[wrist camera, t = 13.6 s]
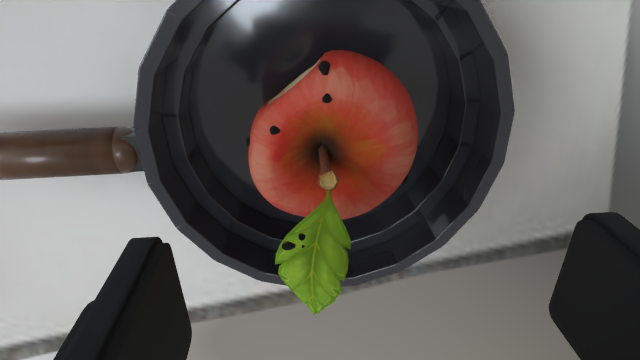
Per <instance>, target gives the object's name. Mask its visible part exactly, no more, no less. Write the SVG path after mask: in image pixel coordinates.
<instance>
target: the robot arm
mask: <svg viewBox="0 0 640 360" xmlns="http://www.w3.org/2000/svg"><path fill="white" fill-rule="evenodd" d="M549 312H550V315H551V318H552V320H553V321H554V323H555V324H556V326H557V327H558V328H559V330H560V331H561V332H562V334H563V335H564V337H565V338H566V340H567V341H568V342H569V344H570V345H571V347H572V348H573V349H574V351H575V352H576V353H577V355H578V356H579V358H580V359H581V360H640V230H639V229H638V228H636V227H635V226H634V225H633V224H632V223H630V222H629V221H628V220H627V219H625V218H624V217H623V216H621V215H620V214H618V213H614V212H607V213H590V214H587V215H585V216H584V217H583V219H582V220H581V221H579V222H578V223H577V224H576V226H575V229H574V232H573V235H572V238H571V241H570V244H569V247H568V250H567V253H566V256H565V259H564V262H563V265H562V268H561V271H560V274H559V277H558V280H557V283H556V285H555V289H554V291H553V294H552V297H551V301H550V304H549ZM191 330H192V329H191V324H190V320H189V316H188V312H187V308H186V304H185V300H184V296H183V293H182V289H181V285H180V281H179V277H178V273H177V269H176V265H175V261H174V257H173V254H172V250H171V246H170V244H169V243H162V240H161V239H160V238H159V237H147V238H133V239H131V240H130V241H129V242H128V244H127V246H126V247H125V249H124V251H123V252H122V254H121V256H120V258H119V259H118V261H117V263H116V264H115V266H114V268H113V270H112V271H111V273H110V275H109V276H108V278H107V280H106V282H105V283H104V285H103V287H102V288H101V290H100V292H99V294H98V295H97V297H96V299H95V301H92V302H90V303H89V304H87V306H86V307H85V308H84V310H83V311H82V313H81V314H80V316H79V318H78V319H77V321H76V323H75V324H74V326H73V328H72V329H71V331H70V333H69V334H68V336H67V338H66V339H65V341H64V343H63V344H62V346H61V348H60V349H59V351H58V353H57V354H56V357H55V358H54V360H186V359H187V355H188V351H189V347H190V343H191V337H192V331H191Z"/></svg>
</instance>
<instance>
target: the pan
mask: <svg viewBox="0 0 640 360" xmlns="http://www.w3.org/2000/svg"><path fill="white" fill-rule="evenodd" d="M332 50H346V51H352V52H355V53H359V54H362V55H365V56H367V57H370V58H372V59H374V60H376V61H378V62H379V63H381V64H382V65H384V66H385V67H386V68H388V69H389V70H390V71H391V72H392V73H393V74H394V75H395V76H396V77H397V78H398V79H399V80H400V82H401V83H402V84H403V86H404V87H405V89H406V90H407V92H408V94H409V96H410V98H411V100H412V103H413V106H414V109H415V113H416V118H417V126H418V142H417V150H416V154H415V158H414V161H413V163H412V166H411V168H410V170H409V172H408V174H407V176H408V179H407V182H406V184H400V186H399V187H398V188H397V189H396V190H395V191H394V192H393V193H392V194H391V195H390V196H389V197H388V198H387V199H386V200H384V201H383V202H382V203H381V204H379V205H378V206H376V207H375V208H373V209H371V210H370V211H368V212H366V213H364V214H361V215H359V216H356V217H352V218H348V219H343V220H342V221H343V223H344V225H345V227H346V229H347V232H348V235H349V237H350V240H351V249H348V248H345V247H344V249H345V250H346V251H347V253H348V260H349V262H348V271H347V274H346V276H345V279H344V281H342V280H341V279H340V278H339V281H340V285H341V287H346V286H355V285H360V284H363V283H366V282H369V281H372V280H376V279H379V278H382V277H385V276H388V275H391V274H394V273H398V272H401V271H403V270H404V269H406V268H408V267H409V266H411V265H413V264H414V263H416V262H418V261H419V260H421V259H422V258H424V257H426V256H427V255H429V254H431V253H432V252H434V251H436V250H437V249H439V248H440V247H442V246H443V245H445V244H446V243H447V242H448V241H449V240H450V239H451V237H452V236H453V235H454V234H455V233H456V232H457V231H458V230H459V229H460V228H461V227H462V226H463V225H464V224H465V223H466V222H467V221H468V220H469V219H470V218H471V217H472V216H473V215H474V214H475V213H476V212H477V211H478V209H479V208H480V206H481V204H482V203H483V201H484V199H485V197H486V195H487V193H488V192H489V190H490V188H491V186H492V184H493V182H494V181H495V179H496V177H497V175H498V173H499V171H500V170H501V168H502V166H503V163H504V160H505V155H506V151H507V146H508V141H509V136H510V131H511V126H512V121H513V116H514V112H515V111H514V101H513V93H512V85H511V77H510V69H509V62H508V54H507V51H506V49H505V47H504V45H503V43H502V41H501V39H500V37H499V35H498V34H497V32H496V30H495V28H494V26H493V24H492V22H491V20H490V18H489V16H488V14H487V12H486V10H485V9H484V7H483V5H482V3H481V1H480V0H176V1H175V2H174V3H173V4H172V5H171V6H170V7H169V9H168V10H167V11H166V13H165V15H164V17H163V19H162V21H161V23H160V25H159V27H158V29H157V31H156V33H155V35H154V38H153V40H152V42H151V44H150V46H149V48H148V50H147V52H146V54H145V56H144V58H143V60H142V62H141V64H140V67H139V68H140V69H139V72H138V83H137V94H136V105H135V115H134V126H133V127H134V133H135V137H136V141H137V145H138V149H139V153H140V157H141V160H142V164H143V168H144V172H145V176H146V180H147V183H148V185H149V187H150V188H151V190H152V191H153V193H154V195H155V196H156V198H157V199H158V201H159V202H160V204H161V205H162V207H163V208H164V210H165V212H166V213H167V215H168V216H169V218H170V219H171V221H172V222H173V224H174V225H175V227H177V229H178V230H179V231H180V232H181V233H183V234H184V235H185V236H186V237H187V238H189V239H190V240H191V241H192V242H193V243H194V244H196V245H197V246H198V247H199V248H200V249H202V250H203V251H204V252H205V253H206V254H208V255H209V256H210V257H211V258H212V259H214V260H216V261H217V262H219V263H221V264H224V265H226V266H228V267H230V268H232V269H235V270H237V271H239V272H241V273H243V274H246V275H248V276H250V277H252V278H254V279H257V280H260V281H263V282H269V283H275V284H280V285H286V284H285V283H284V281H283V280H282V279H281V277H280V276H279V274H278V271H279V266H280V265H281V264H282V263H281V264H275V258H276V253H277V250H278V248H279V245H280V244H281V242H282V241H283V239H284V238H285V237H286V235H287V234H288V233H289V232H290V231H291V230H292V229H293V228H294V227H295V226H296V225H297V224H298V223H300V222H301V221H302V220H303V219H304V218H305V217H302V216H298V215H293V214H291V213H288V212H285V211H283V210H280V209H278V208H277V207H275V206H273V205H272V204H271V203H270V202H268V201H267V200H266V199H265V198H264V197H263V196H262V195H261V193H260V192H259V190H258V189H257V187H256V186H255V183H254V181H253V179H252V176H251V173H250V168H249V147H248V146H247V145H246V138H247V137H248V136H249V135H250V133H251V128H252V124H253V121H254V118H255V116H256V114H257V112H258V110H259V109H260V108H261V107H262V106H263V105H264V104H265V103H266V102H267V101H269V100H271V99H272V98H274V97H275V96H276V95H277V94H279V93H280V92H281V91H282V90H283V89H284V88H285V87H287V86H288V85H289V84H290V83H292V82H293V81H294V80H295V79H296V78H297V77H299V76H300V75H301V74H302V73H304V72H305V71H306V70H308V69H309V68H310V67H312V66H314V65H315V64H316V63H317V62H318V60H319V59H320V58H321V57H322V56H323V55H324V54H325V53H326V52H329V51H332ZM286 286H287V285H286Z"/></svg>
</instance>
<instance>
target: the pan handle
mask: <svg viewBox="0 0 640 360" xmlns="http://www.w3.org/2000/svg"><path fill="white" fill-rule="evenodd" d="M137 171H144V168H143V164H142V160H141V157H140V153H139V149H138V145H137V141H136V137H135V133H134V128H128V127H103V128H83V129H63V130H43V131H22V132H2V133H0V180H12V179H30V178H48V177H66V176H85V175H103V174H121V173H130V172H137Z"/></svg>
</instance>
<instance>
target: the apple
mask: <svg viewBox="0 0 640 360" xmlns="http://www.w3.org/2000/svg"><path fill="white" fill-rule="evenodd" d="M417 142H418V126H417V118H416V113H415V109H414V106H413V103H412V100H411V98H410V96H409V94H408V92H407V90H406V89H405V87H404V86H403V84H402V83H401V82H400V80H399V79H398V78H397V77H396V76H395V75H394V74H393V73H392V72H391V71H390V70H389V69H388V68H386V67H385V66H384V65H382V64H381V63H379V62H378V61H376V60H374V59H372V58H370V57H367V56H365V55H362V54H359V53H355V52H352V51H346V50H332V51H329V52H326V53H325V54H324V55H323V56H322V57H321V58H320V59H319V60H318V62H317V63H316V64H315V65H314V66H312V67H310V68H309V69H308V70H306V71H305V72H304V73H302V74H301V75H300V76H299V77H297V78H296V79H295V80H294V81H293V82H292V83H290V84H289V85H288V86H287V87H285V88H284V89H283V90H282V91H281V92H280V93H279V94H277V95H276V96H275V97H274V98H272V99H271V100H269V101H267V102H266V103H265V104H264V105H263V106H262V107H261V108H260V109H259V110H258V112H257V114H256V116H255V118H254V121H253V124H252V128H251V133H250V135H249V136H248V137H247V138H246V145H247V146H248V147H249V168H250V173H251V176H252V179H253V181H254V183H255V186H256V187H257V189H258V190H259V192H260V193H261V195H262V196H263V197H264V198H265V199H266V200H267V201H268V202H270V203H271V204H272V205H273V206H275V207H277V208H278V209H280V210H283V211H285V212H288V213H291V214H293V215H298V216H302V217H305V218H304V219H303V220H302V221H301V222H300V223H298V224H297V225H296V226H295V227H294V228H293V229H292V230H291V231H290V232H289V233H288V234H287V235H286V237H285V238H284V239H283V241H282V242H281V244H280V245H279V248H278V250H277V253H276V258H275V264H281V263H282V264H281V265H280V266H279V271H278V274H279V276H280V277H281V279H282V280H283V281H284V283H285V284H286V285H287V286H288V287H289V288H290V289H291V290H292V291H293V292H294V293H295V294H296V295H297V296H298V298H299V299H300V300H301V301H302V302H303V303H305V304H307V305H308V307H309V308H310V310H311V311H312V313H313V314H316V313H319V312H320V311H321V310H323V309H324V308H325V307H327V306H328V305H329V304H331V303H333V302H334V301H335V299H336V298H337V297H338V295H339V294H340V292H341V290H342V289H341V285H340V281H339V278H340V279H341V280H342V281H344V279H345V276H346V274H347V271H348V262H349V260H348V253H347V251H346V250H345V249H344V247H345V248H348V249H351V240H350V237H349V235H348V232H347V229H346V227H345V225H344V223H343V221H342V220H343V219H348V218H352V217H356V216H359V215H361V214H364V213H366V212H368V211H370V210H371V209H373V208H375V207H376V206H378V205H379V204H381V203H382V202H383V201H384V200H386V199H387V198H388V197H389V196H390V195H391V194H392V193H393V192H394V191H395V190H396V189H397V188H398V187H399V186H400V184H406V182H407V179H408V176H407V174H408V172H409V170H410V168H411V166H412V163H413V161H414V158H415V154H416V150H417Z"/></svg>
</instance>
